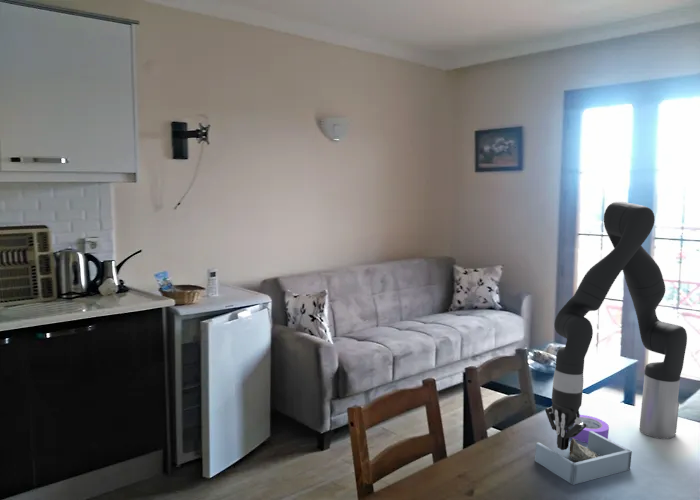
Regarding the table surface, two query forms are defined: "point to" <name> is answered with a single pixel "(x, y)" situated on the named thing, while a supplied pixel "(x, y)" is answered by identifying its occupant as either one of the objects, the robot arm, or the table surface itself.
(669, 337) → the robot arm
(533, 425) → the table surface
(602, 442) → the box
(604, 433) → the masking tape
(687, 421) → the table surface
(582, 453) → the rock sample
